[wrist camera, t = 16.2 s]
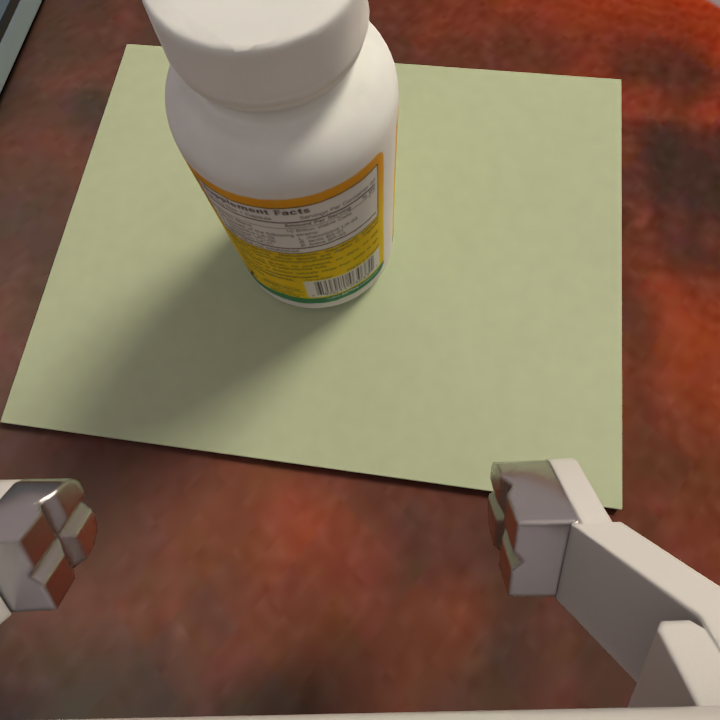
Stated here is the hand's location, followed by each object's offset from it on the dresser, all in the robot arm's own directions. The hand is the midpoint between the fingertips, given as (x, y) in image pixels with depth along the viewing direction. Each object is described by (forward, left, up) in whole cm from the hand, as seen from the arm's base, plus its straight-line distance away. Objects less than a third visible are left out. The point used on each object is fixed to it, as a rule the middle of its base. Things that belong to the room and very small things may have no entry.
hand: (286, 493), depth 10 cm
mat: (+1, -9, -6) cm, 11 cm away
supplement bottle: (+1, -9, -6) cm, 11 cm away
